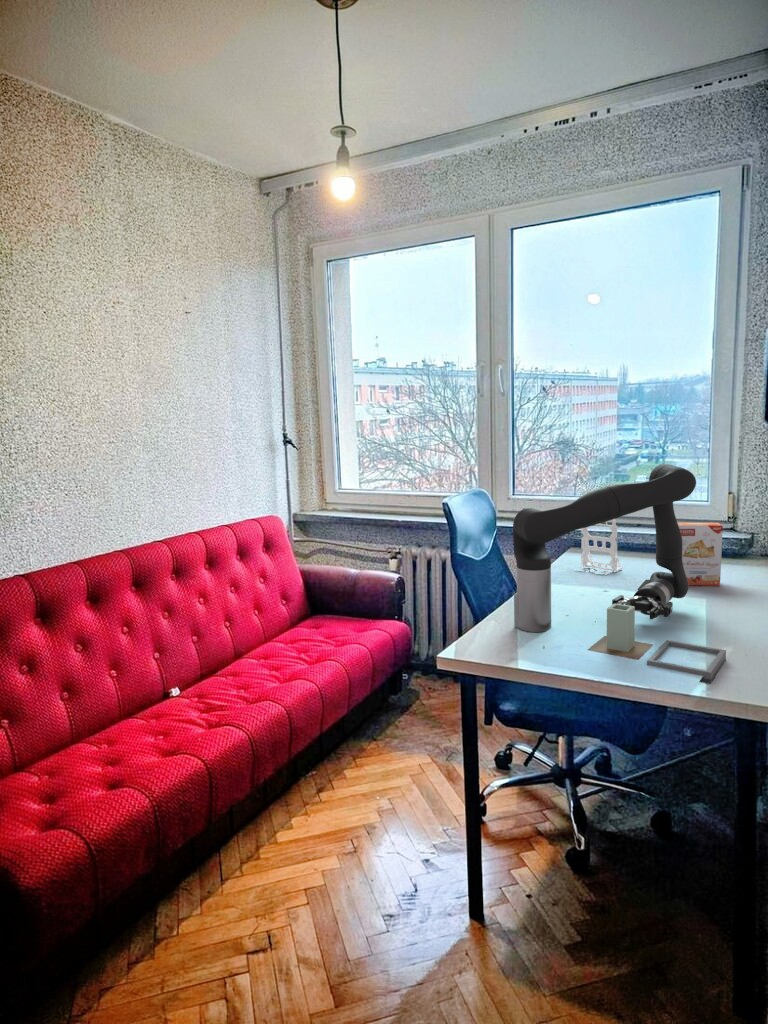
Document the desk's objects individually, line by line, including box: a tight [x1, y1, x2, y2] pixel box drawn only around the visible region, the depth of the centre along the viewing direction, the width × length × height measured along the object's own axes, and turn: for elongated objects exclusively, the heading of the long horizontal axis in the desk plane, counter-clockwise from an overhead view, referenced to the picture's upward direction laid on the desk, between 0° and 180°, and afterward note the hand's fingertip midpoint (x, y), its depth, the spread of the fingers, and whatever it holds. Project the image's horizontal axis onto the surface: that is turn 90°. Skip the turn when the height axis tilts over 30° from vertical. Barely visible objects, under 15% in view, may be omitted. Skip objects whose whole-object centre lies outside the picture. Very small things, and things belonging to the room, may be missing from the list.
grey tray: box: [646, 639, 727, 685], centre depth 143 cm, size 13×16×2 cm
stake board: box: [587, 635, 654, 660], centre depth 151 cm, size 12×12×10 cm
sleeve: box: [606, 604, 636, 652], centre depth 151 cm, size 5×5×10 cm
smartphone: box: [637, 579, 650, 591], centre depth 210 cm, size 8×15×1 cm, turn 147°
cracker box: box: [677, 522, 724, 587], centre depth 210 cm, size 14×6×21 cm, turn 76°
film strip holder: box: [574, 518, 623, 576], centre depth 235 cm, size 14×14×20 cm
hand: (633, 612), depth 159 cm, fingers open, 8 cm apart
